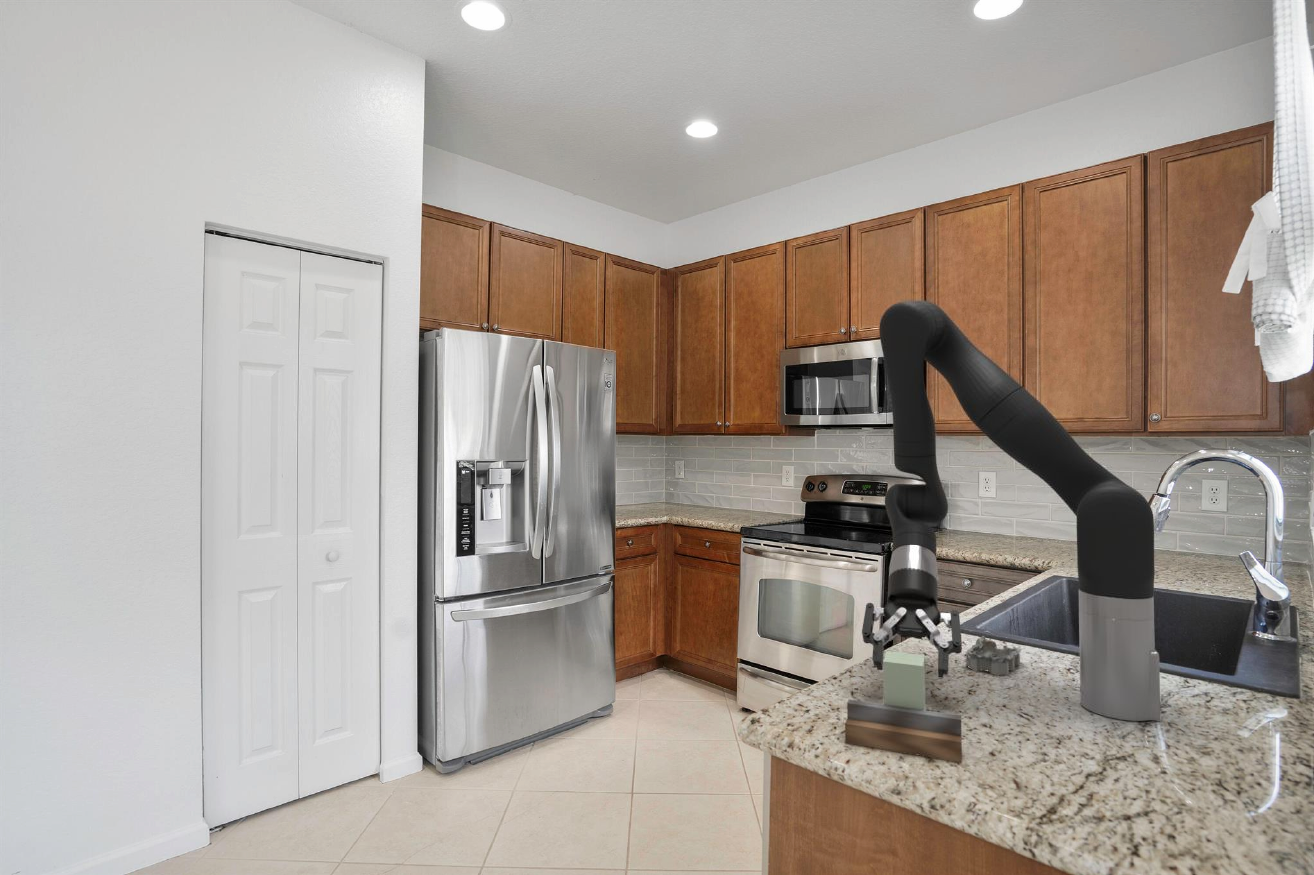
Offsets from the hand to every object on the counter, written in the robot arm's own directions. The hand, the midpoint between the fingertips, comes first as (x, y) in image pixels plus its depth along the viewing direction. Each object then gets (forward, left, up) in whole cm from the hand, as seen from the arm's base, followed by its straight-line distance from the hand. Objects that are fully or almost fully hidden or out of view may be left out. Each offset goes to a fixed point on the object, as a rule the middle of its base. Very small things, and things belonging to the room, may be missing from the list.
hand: (909, 671), depth 99 cm
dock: (0, +10, -6) cm, 11 cm away
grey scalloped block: (-12, -27, -6) cm, 31 cm away
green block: (0, +9, -5) cm, 11 cm away
